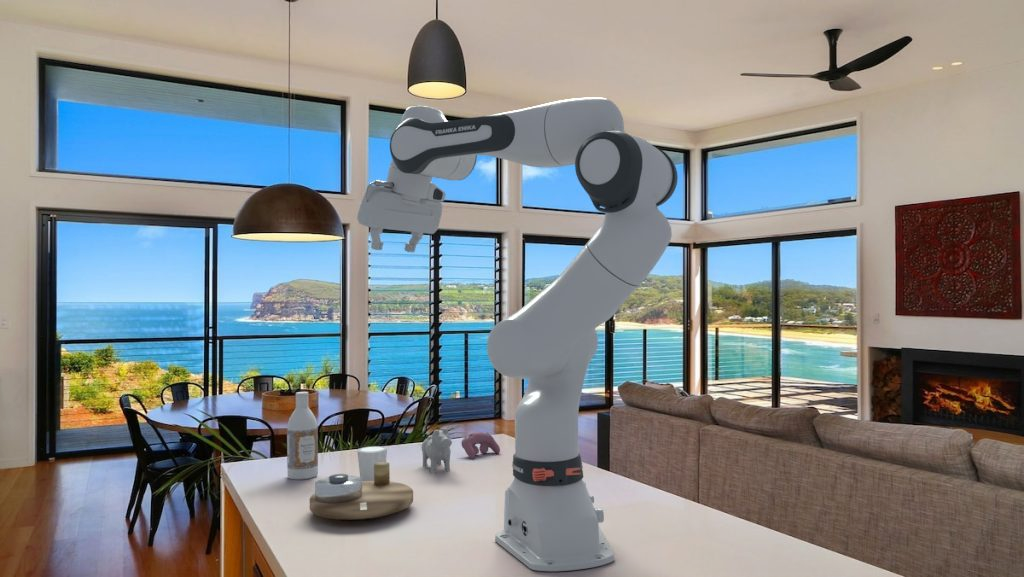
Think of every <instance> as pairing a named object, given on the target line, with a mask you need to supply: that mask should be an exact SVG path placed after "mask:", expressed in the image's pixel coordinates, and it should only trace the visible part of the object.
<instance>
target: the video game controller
mask: <svg viewBox="0 0 1024 577" xmlns="http://www.w3.org/2000/svg"><path fill="white" fill-rule="evenodd" d="M460 443H461V447H462V449H463V450H464V451H465V454H466V455H467V456H468V457H469V458H470V459H472V460H473V459H475V457H476V455H478V454H479V453H481V454H482V455H483V454H487V453H488V452H489V448H490V450H492V451H493V453H495V454H498V455H499V454H500V452H501V448H500V446H499V444H498V442H497V441H496V440H495V438H494V437H493V435H491V434H490V433H489V432H481V431H479V432H474V433H471V434H469V435H467V436H465V437H463V439H462V441H461V442H460ZM477 445H479V447H478V446H477Z"/></svg>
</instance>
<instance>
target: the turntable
mask: <svg viewBox="0 0 1024 577" xmlns="http://www.w3.org/2000/svg"><path fill="white" fill-rule="evenodd" d="M390 474H391V473H390V462H387V461H386V462H379V463H375V464H374V481H362V496H361V497H360V498H359V499H357V500H354V501H350V502H345V503H337V504H326V503H320V502H317V501H316V500H315V492H314V493H313V494H312V495H311V496H310V498H309V510H310V512H311V513H312V514H314V515H315V516H319V517H322V518H326V519H333V520H339V519H366V518H374V517H380V516H383V517H386V516H388V515H391V514H396V513H398V512H401V511H402V510H406V509H407V508H409V507H411V505H412V504H413V502H414V489H413V488H412V487H410V486H409V485H407V484H403V483H401V482H395V481H391V480H390V476H391V475H390ZM385 515H386V516H385ZM380 518H381V517H380Z"/></svg>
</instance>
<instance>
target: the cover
mask: <svg viewBox="0 0 1024 577" xmlns="http://www.w3.org/2000/svg"><path fill="white" fill-rule="evenodd" d="M314 493H315V500H316V501H317V502H320V503H326V504H337V503H345V502H350V501H354V500H357V499H359V498H360V497H361V496H362V479H361V478H360V476H356V475H351V474H350V475H348V474H346V473H345V474H344V473H337V474H331V475H330V476H328V477H327V476H326V477H324V478H319V479H318V480H316V481H315V482H314Z"/></svg>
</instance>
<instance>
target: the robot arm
mask: <svg viewBox="0 0 1024 577" xmlns="http://www.w3.org/2000/svg"><path fill="white" fill-rule="evenodd" d="M624 122H625V121H624V118H623V116H622V112H621V110H620V109H619V107H618V106H617V104H615V102H614V101H612V100H610V99H608V98H606V97H605V98H604V97H577V98H569V99H563V100H557V101H552V102H548V103H544V104H539V105H538V104H537V105H534V106H532V107H531V106H530V107H526V108H522V109H517V110H511V111H506V112H501V113H495V114H491V115H485V116H484V115H483V116H482V115H481V116H476V117H475V116H474V117H467V118H461V119H455V120H447V118H446V116H445V114H444V112H443V111H442V110H441V109H438V108H435V107H432V106H425V105H416V104H415V105H412V106H411V105H410V106H409V107H407V108H406V109H405V111H404V113H403V114H402V117H401V119H400V122H399V124H398V126H397V127H396V128H395V129H394V131H393V132H392V134H391V137H390V140H389V151H390V156H391V159H392V160H391V162H390V163H389V167H388V172H387V177H386V181H383V180H379V179H376V180H375V179H374V180H373V181H372V182H369V184H367V186H366V188H365V189H366V190H365V193H364V195H363V197H362V200H361V203H360V206H359V210H358V212H357V221H358V223H359V224H360V225H362V226H364V227H367V228H370V229H369V233H370V236H371V239H372V240H371V245H370V248H371V249H372V250H374V251H382V250H383V246H384V241H381V234H383V230H384V229H385V230H391V231H392V230H393V231H404V232H410V235H411V238H410V240H409V241H408V242H405V245H404V251H405V252H407V253H415V252H416V247H417V245H418V244H419V243H420V241H421V240H422V239H423V236H424V234H430V235H433V234H435V233H436V232H437V231H438V230H439V226H440V222H441V219H442V218H441V217H442V212H443V204H442V202H444V201H445V200H446V199H445V198H446V192H445V191H444V190H443V189H441V188H440V187H439V186H437V185H436V184H435V183H434V182H432V178H434V179H435V178H436V179H441V180H447V181H453V182H454V181H462V180H465V179H467V177H468V176H470V175H471V173H472V172H473V170H474V168H475V166H476V164H477V159H478V158H477V156H485V157H486V156H487V157H493V158H498V159H501V160H506V161H509V162H513V163H516V164H520V165H524V166H527V167H534V168H550V169H551V168H560V167H561V168H562V167H566V166H573V165H575V166H574V167H575V168H574V169H575V174H576V177H577V178H576V179H578V182H579V184H580V185H581V187H582V188H583V189H584V191H585V193H586V194H587V195H588V196H589V198H590V200H591V203H592V204H593V206H594V208H595V209H596V210H597V211H598V212H601V213H604V214H605V215H604V219H603V222H602V223H601V225H600V226H599V228H598V229H597V230H596V232H595V233H594V234H593V235H592V236H591V237H590V239H588V241H587V242H586V243H585V245H584V246H583V247H582V248H581V250H580V251H579V252H578V253H577V254H576V256H575V257H574V258H573V259H572V261H570V263H569V264H568V265H567V267H566V268H564V270H563V271H562V272H561V273H560V274H559V275H558V277H556V279H555V280H553V281H552V282H551V283H550V284H549V285H547V286H546V287H545V288H544V289H543V290H542V291H540V292H539V293H538V294H537V295H536V296H534V297H533V298H531V299H530V300H529V302H527V303H526V304H524V306H523V307H521V308H519V309H518V310H517V311H516V312H514V313H513V314H511V315H509V316H508V317H506V318H505V319H502V320H501V321H499V322H497V323H496V324H495V325H494V326H493V328H492V329H491V330H490V332H489V334H488V337H487V342H486V351H487V357H488V360H489V361H490V364H491V366H492V367H493V368H494V369H495V370H496V371H497V372H498V373H499V374H501V375H503V376H505V377H509V378H510V377H511V378H514V379H520V380H521V379H522V380H528V382H527V386H526V389H525V392H524V394H523V397H522V399H521V400H520V401H519V402H518V404H517V406H516V408H515V411H514V441H515V443H514V444H515V445H514V446H515V447H514V449H515V450H514V451H515V452H514V454H513V456H512V463H511V465H512V466H511V467H512V476H513V477H514V478H513V480H512V482H511V483H510V485H509V486H508V487H507V489H505V492H504V509H503V510H504V512H503V530H500V531H498V532H497V533H496V534H495V538H494V541H495V543H497V544H499V545H500V546H501V547H502V548H504V549H505V550H506V551H508V552H509V553H510V554H511V555H513V557H515V558H516V559H517V560H519V561H520V562H521V563H523V565H525V566H526V567H528V569H530V570H533V571H538V572H565V571H567V572H569V571H576V570H584V569H590V568H596V567H601V566H604V565H607V564H610V563H611V562H614V561H615V554H614V551H613V549H612V548H611V546H610V543H609V542H608V540H607V539H606V537H605V535H604V532H603V531H602V529H601V527H600V525H599V524H600V523H601V524H602V523H603V522H604V520H605V517H604V515H605V514H604V510H603V508H601V507H597V508H596V507H595V508H594V503H595V497H594V495H593V494H590V493H589V491H588V488H587V484H586V483H585V481H583V478H584V471H583V470H584V469H583V468H584V467H583V462H582V456H581V454H580V453H579V409H580V402H581V396H582V393H583V392H582V391H583V387H584V383H585V379H586V374H587V372H588V371H587V370H588V368H589V365H590V362H591V361H592V359H593V358H594V356H595V354H596V352H597V350H598V344H599V343H598V342H599V341H598V338H599V337H598V334H597V331H596V328H598V327H599V326H601V325H602V324H604V323H606V322H607V321H609V320H610V319H611V318H612V317H613V316H614V315H615V314H616V312H617V311H618V310H619V309H620V308H621V307H622V306H623V304H625V302H626V301H627V300H628V299H629V298H630V297H631V295H632V294H633V293H634V292H635V291H636V290H637V289H638V288H639V287H640V285H641V284H642V283H643V282H644V281H645V279H646V278H647V277H648V276H649V274H650V273H651V272H652V270H654V268H655V266H656V265H657V264H658V262H659V261H660V259H661V257H662V256H663V254H664V253H665V251H666V249H667V248H668V246H669V245H670V242H671V240H672V227H671V225H670V222H669V220H668V218H667V217H666V215H665V214H664V213H663V212H662V211H660V209H659V207H660V206H662V205H663V204H665V203H667V201H668V200H669V199H670V198H672V196H673V194H674V193H675V190H676V188H677V185H678V171H677V168H676V165H675V162H674V161H673V159H671V156H669V155H668V154H667V153H666V152H665V151H664V150H662V149H661V148H659V147H657V146H654V145H652V144H651V143H650V142H649V141H647V140H646V139H642V138H641V137H639V136H634V135H632V134H628V133H626V132H625V123H624Z"/></svg>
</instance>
